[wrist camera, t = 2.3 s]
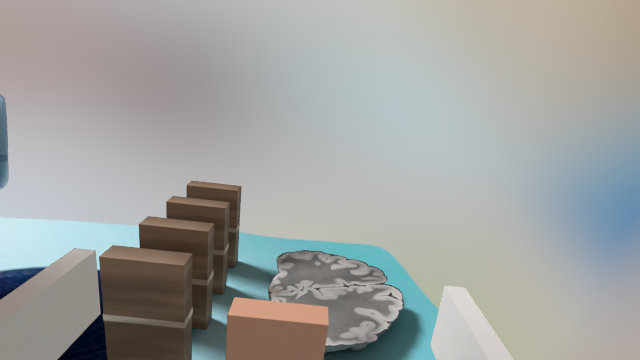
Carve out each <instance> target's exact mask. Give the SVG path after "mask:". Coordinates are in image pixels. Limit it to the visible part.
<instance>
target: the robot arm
mask: <svg viewBox="0 0 640 360" xmlns="http://www.w3.org/2000/svg"><path fill="white" fill-rule="evenodd" d="M7 137H8V136H7V116H6V103H5V99H4V97H3V96H2V95H0V189H2V188H3V187H5V185H6V184H7V182H8V138H7ZM100 314H101V312H100V300H99V288H98V275H97V263H96V250H86V249H76V248H74V249H73V250H72V251H70V252H69V253H67V254H66V255H64V256H63V257H61V258H60V259H59V260H57V261H56V262H54V263H53V264H51V265H50V266H48V267H47V268H46V269H44V270H43V271H41V272H40V273H38V274H37V275H35V276H34V277H33V278H31V279H30V280H28V281H27V282H25V283H24V284H22V285H21V286H20V287H18V288H17V289H15V290H14V291H12V292H11V293H9V294H8V295H7V296H5V297H4V298H2V299H1V300H0V360H57V359H58V358H59V357H60V356H61V355H62V354H63V353H64V352H65V351H66V350H67V349H68V348H69V347H70V346H71V345H72V343H73V342H74V341H75V340H76V339H77V338H78V337H79V336H80V335H81V334H82V333H83V332H84V331H85V330H86V328H87V327H88V326H89V325H90V324H91V323H92V322H93V321H94V320H95V319H96V318H97V317H98V316H99V315H100ZM431 348H432V350H433V353H434V355H435V358H436V360H513V358H512V357H511V355H510V354H509V352H508V351H507V350H506V348H505V346H504V345H503V344H502V342H501V341H500V339H499V338H498V336H497V335H496V333H495V332H494V330H493V329H492V327H491V326H490V324H489V323H488V321H487V320H486V318H485V317H484V315H483V314H482V312H481V311H480V309H479V308H478V307H477V305H476V304H475V302H474V301H473V299H472V298H471V296H470V295H469V293H468V292H467V290H466V289H465V288H463V287H452V286H445V287H444V292H443V296H442V300H441V304H440V308H439V312H438V316H437V320H436V324H435V329H434V333H433V337H432V341H431Z"/></svg>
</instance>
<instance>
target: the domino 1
mask: <svg viewBox="0 0 640 360" xmlns="http://www.w3.org/2000/svg"><path fill="white" fill-rule="evenodd" d="M99 261H100V274H101V287H102V299H103V312H104V314H103V320H104V325H105V337H106V350H107V360H192V313H193V307H192V254H191V253H181V252H172V251H162V250H153V249H143V248H134V247H125V246H115V245H113V246H112V247H110V248H109V249H108V250H107V251H105V252H104V253H103V254H102V255H101V256H99Z"/></svg>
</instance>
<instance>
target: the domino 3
mask: <svg viewBox="0 0 640 360" xmlns="http://www.w3.org/2000/svg"><path fill="white" fill-rule="evenodd" d="M166 203H167V218H168V219H177V220H186V221H196V222H205V223H214V252H213V270H214V271H213V285H212V293H213V294H223V292H224V289H225V287H226V280H227V257H228V244H229V243H228V233H229V210H230V202H223V201H214V200H205V199H195V198H186V197H177V196H173V197H172V198H170V199H169V200H168V201H167V202H166Z"/></svg>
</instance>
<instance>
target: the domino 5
mask: <svg viewBox="0 0 640 360" xmlns="http://www.w3.org/2000/svg"><path fill="white" fill-rule="evenodd" d="M328 326H329V322H328V307H325V306H316V305H306V304H296V303H286V302H277V301H267V300H257V299H247V298H238V297H234V300H233V302H232V305H231V307H230V310H229V312H228V315H227V337H226V360H324V353H325V346H326V339H327V333H328Z"/></svg>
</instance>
